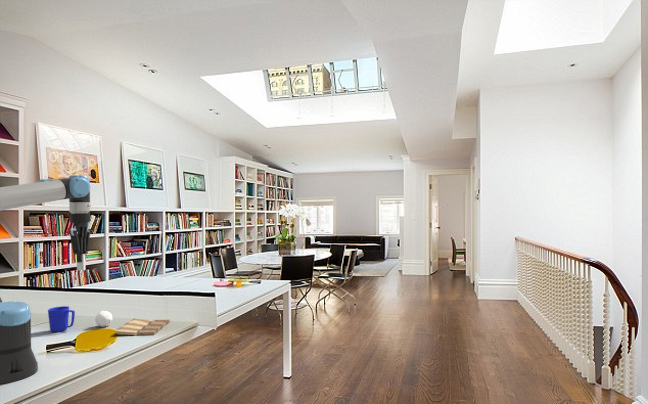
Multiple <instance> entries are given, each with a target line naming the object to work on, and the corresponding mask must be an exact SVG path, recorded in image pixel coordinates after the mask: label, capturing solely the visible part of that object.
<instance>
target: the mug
mask: <svg viewBox="0 0 648 404" xmlns="http://www.w3.org/2000/svg"><path fill="white" fill-rule="evenodd" d="M70 313H71V320H70V325H69V319H70ZM75 314H76V311H75V310H74V309H70V306H67V305H66V306H64V305H63V306H56V307H55V306H54V307H51V308H49V309H47V315H48V323H49V330H50V332H53V333H59V332H64V331H66V330H68V328H71V327H73V326H74V323H75V318H76V317H75V316H76V315H75Z"/></svg>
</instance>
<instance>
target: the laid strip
mask: <svg viewBox="0 0 648 404" xmlns="http://www.w3.org/2000/svg"><path fill="white" fill-rule="evenodd" d="M169 323H171V319H154V320H153V322H152V323H151V324H149V325H148V326H146V327H145V328H144V329H142V330H141V331H140V332H138V334H136V336H150V335H151V336H153V335H157V333H159V331H161V330H162V329H163V328H165V327H166V326H167V325H168V324H169Z"/></svg>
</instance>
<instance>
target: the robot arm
mask: <svg viewBox="0 0 648 404" xmlns="http://www.w3.org/2000/svg"><path fill="white" fill-rule="evenodd" d="M90 183H91V181H90V177H89V176H88V175H84V174H83V175H80V174H78V175H76V174H73V175H69V176H68V178H56V179H55V178H54V179H53V178H52V179H51V178H44V179H43V178H42V179H39V180H38V181H37V182H31V183H30V182H29V183H23V184H15V185H9V186H2V187H0V211H5V210H11V209H16V208H21V207H28V206H34V205H39V204H45V203H51V202H56V201H62V200H68V204H69V205H68V207H69V209H68V210H69V213H70V214H69V223H72V230H69V231H68V234H69V236H70V243H71V248H72V254H73V255H74V256H75V255H76V271H86V266H87V265H86V254H89V247H90V241H91V240H90V238H91V232H92V229H91V228H89V225H88V223H90V222H91V220H92V219H91V213H90V212H91V207H92V205H91V185H90ZM31 318H32V312H31V307H30V305H29V304H28V303H27V302H24V301H14V300H13V301H12V300H11V301H3V300H2V297H0V384H7V383H12V382H17V381H19V380H24V379H25V378H28V377H30V376H33V375H35V374H36V373H37V372H38V371H39V363H38V361H37V359H36V356H35V354H34V351H33V349H32V319H31Z"/></svg>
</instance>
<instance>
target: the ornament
mask: <svg viewBox="0 0 648 404" xmlns="http://www.w3.org/2000/svg"><path fill="white" fill-rule="evenodd" d="M94 320H95V323H96V325H97V326H98V327H101V328H105V326H106V327H108V326H109V325H110V324H112V322H113V315H112V313H111V312H109V311H108V310H101V311H100V312H99V313H97V314H96V316H95V318H94Z"/></svg>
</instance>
